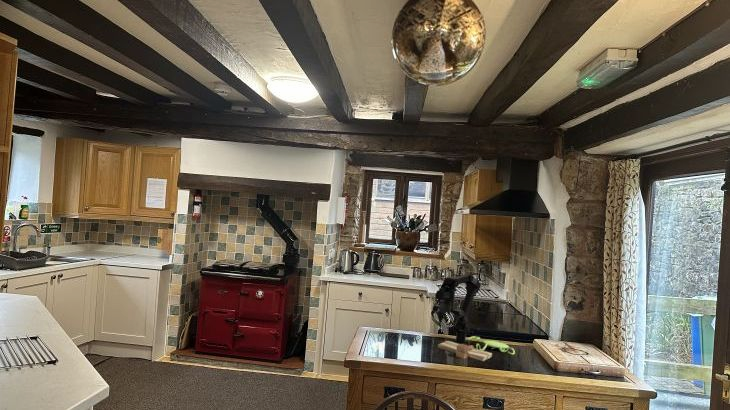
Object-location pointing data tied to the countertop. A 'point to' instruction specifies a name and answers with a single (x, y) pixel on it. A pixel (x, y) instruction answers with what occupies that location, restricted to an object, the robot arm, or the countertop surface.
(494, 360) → the countertop surface
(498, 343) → the figurine
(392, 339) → the countertop surface
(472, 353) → the board
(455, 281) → the robot arm
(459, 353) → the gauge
